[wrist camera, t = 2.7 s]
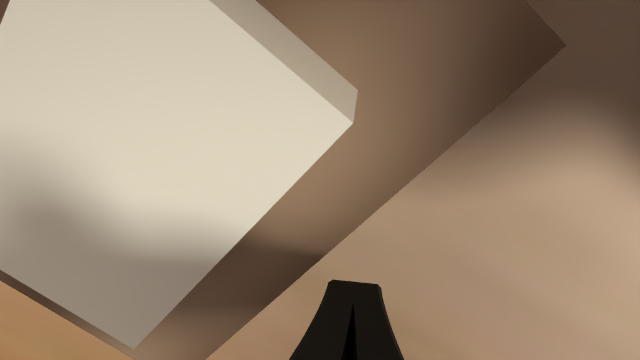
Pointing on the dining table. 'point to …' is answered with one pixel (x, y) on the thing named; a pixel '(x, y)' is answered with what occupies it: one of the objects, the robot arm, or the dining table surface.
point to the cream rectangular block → (149, 145)
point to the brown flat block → (354, 144)
